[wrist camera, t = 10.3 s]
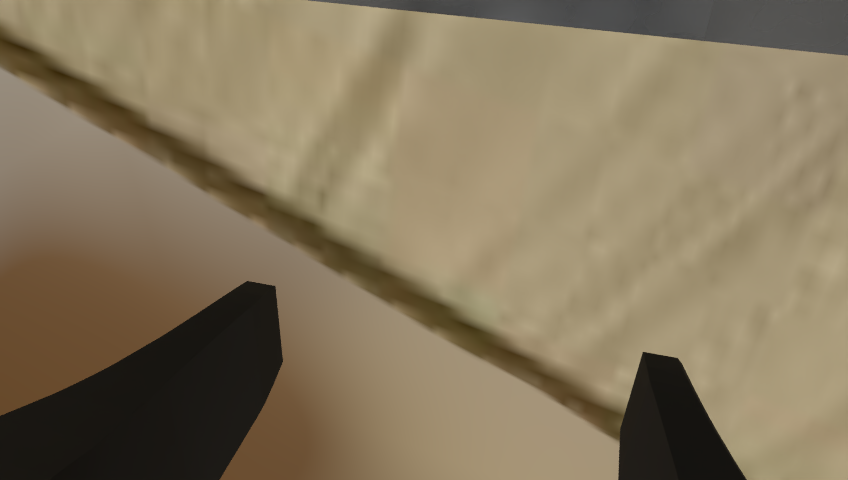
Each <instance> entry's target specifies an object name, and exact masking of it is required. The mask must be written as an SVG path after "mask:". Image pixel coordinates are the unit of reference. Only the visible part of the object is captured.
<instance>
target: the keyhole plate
mask: <svg viewBox="0 0 848 480" xmlns="http://www.w3.org/2000/svg"><path fill="white" fill-rule="evenodd" d="M310 1H320V2H329V3H339V4H349V5H359V6H369V7H378V8H388V9H398V10H408V11H417V12H427V13H437V14H447V15H456V16H466V17H476V18H486V19H496V20H505V21H515V22H525V23H535V24H544V25H554V26H564V27H574V28H584V29H593V30H603V31H613V32H623V33H632V34H642V35H652V36H662V37H672V38H681V39H691V40H701V41H711V42H720V43H730V44H740V45H750V46H760V47H769V48H779V49H789V50H799V51H808V52H818V53H828V54H838V55H848V0H310Z"/></svg>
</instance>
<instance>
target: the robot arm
mask: <svg viewBox="0 0 848 480" xmlns="http://www.w3.org/2000/svg"><path fill="white" fill-rule="evenodd" d="M282 362H283V358H282V348H281V339H280V329H279V318H278V308H277V298H276V289H275V286H272V285H266V284H260V283H255V282H249V281H247V282H245V283H243V284H242V285H240V286H239V287H237V288H236V289H234V290H232V291H231V292H229V293H228V294H226V295H225V296H223V297H222V298H220V299H219V300H217V301H216V302H214V303H213V304H211V305H210V306H208V307H207V308H205V309H204V310H202V311H200V312H199V313H198V314H196V315H194V316H193V317H191V318H190V319H189V320H187V321H185V322H184V323H182V324H180V325H179V326H177V327H176V328H174V329H173V330H171V331H169V332H168V333H166V334H165V335H163V336H162V337H160V338H158V339H156V340H155V341H153V342H151V343H150V344H148V345H146V346H145V347H143V348H141V349H139V350H138V351H136V352H134V353H132V354H131V355H129V356H127V357H126V358H124V359H122V360H120V361H119V362H117V363H115V364H114V365H111V366H110V367H108V368H106V369H104V370H102V371H100V372H98V373H96V374H94V375H92V376H90V377H88V378H86V379H84V380H82V381H80V382H78V383H76V384H74V385H72V386H70V387H68V388H66V389H63V390H61V391H59V392H57V393H55V394H52V395H50V396H48V397H45V398H43V399H40V400H38V401H35V402H33V403H31V404H28V405H26V406H23V407H21V408H18V409H16V410H14V411H11V412H9V413H6V414H4V415H1V416H0V480H219V479H220V478H221V476H222V475H223V473H224V471H225V470H226V468H227V466H228V465H229V463H230V461H231V460H232V458H233V456H234V455H235V453H236V451H237V450H238V448H239V446H240V445H241V443H242V442H243V440H244V438H245V436H246V435H247V433H248V431H249V430H250V428H251V426H252V425H253V423H254V421H255V420H256V418H257V416H258V414H259V413H260V411H261V409H262V408H263V406H264V404H265V402H266V399H267V397H268V395H269V393H270V391H271V388H272V386H273V384H274V381H275V379H276V377H277V374H278V372H279V370H280V367H281V365H282ZM618 480H746V478H745V476H744V475H743V473H742V472H741V470H740V469H739V467H738V465H737V464H736V462H735V461H734V459H733V457H732V456H731V454H730V452H729V451H728V449H727V447H726V446H725V444H724V442H723V440H722V439H721V437H720V435H719V434H718V432H717V430H716V429H715V427H714V425H713V423H712V421H711V420H710V418H709V416H708V414H707V412H706V410H705V409H704V407H703V405H702V403H701V401H700V399H699V397H698V395H697V393H696V391H695V389H694V387H693V385H692V384H691V381H690V379H689V377H688V375H687V373H686V371H685V369H684V367H683V365H682V363H681V362H680V361H679V359H678V358H674V357H668V356H663V355H657V354H652V353H646V352H643V354H642V357H641V361H640V364H639V368H638V371H637V374H636V378H635V381H634V385H633V388H632V391H631V395H630V398H629V402H628V405H627V408H626V412H625V415H624V418H623V422H622V425H621V429H620V450H619V479H618Z"/></svg>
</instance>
